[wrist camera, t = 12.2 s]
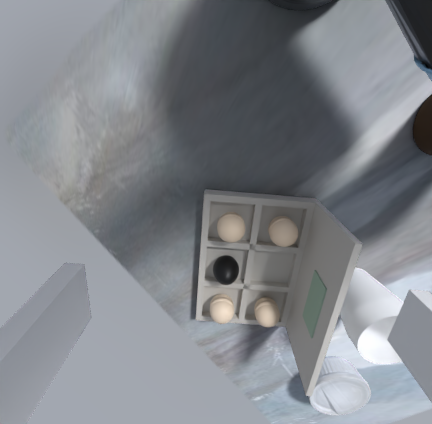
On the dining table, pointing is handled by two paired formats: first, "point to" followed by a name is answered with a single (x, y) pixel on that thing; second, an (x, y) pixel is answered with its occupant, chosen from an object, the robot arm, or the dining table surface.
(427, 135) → the olive oil
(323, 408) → the ramekin
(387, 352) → the cup
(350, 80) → the dining table surface
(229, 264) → the egg
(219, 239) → the carton
